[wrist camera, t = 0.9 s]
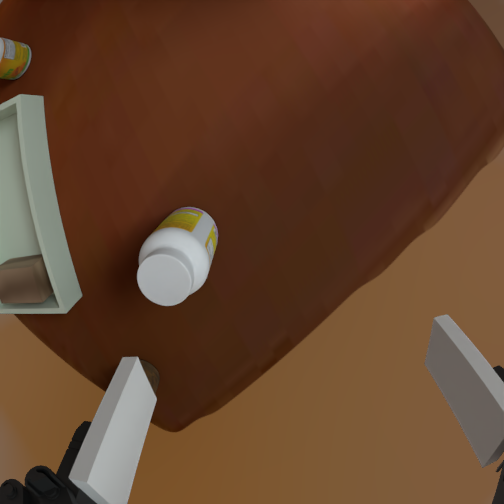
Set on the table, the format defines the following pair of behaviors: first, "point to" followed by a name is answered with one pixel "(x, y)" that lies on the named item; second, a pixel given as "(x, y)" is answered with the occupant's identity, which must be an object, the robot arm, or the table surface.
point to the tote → (32, 204)
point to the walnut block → (24, 280)
